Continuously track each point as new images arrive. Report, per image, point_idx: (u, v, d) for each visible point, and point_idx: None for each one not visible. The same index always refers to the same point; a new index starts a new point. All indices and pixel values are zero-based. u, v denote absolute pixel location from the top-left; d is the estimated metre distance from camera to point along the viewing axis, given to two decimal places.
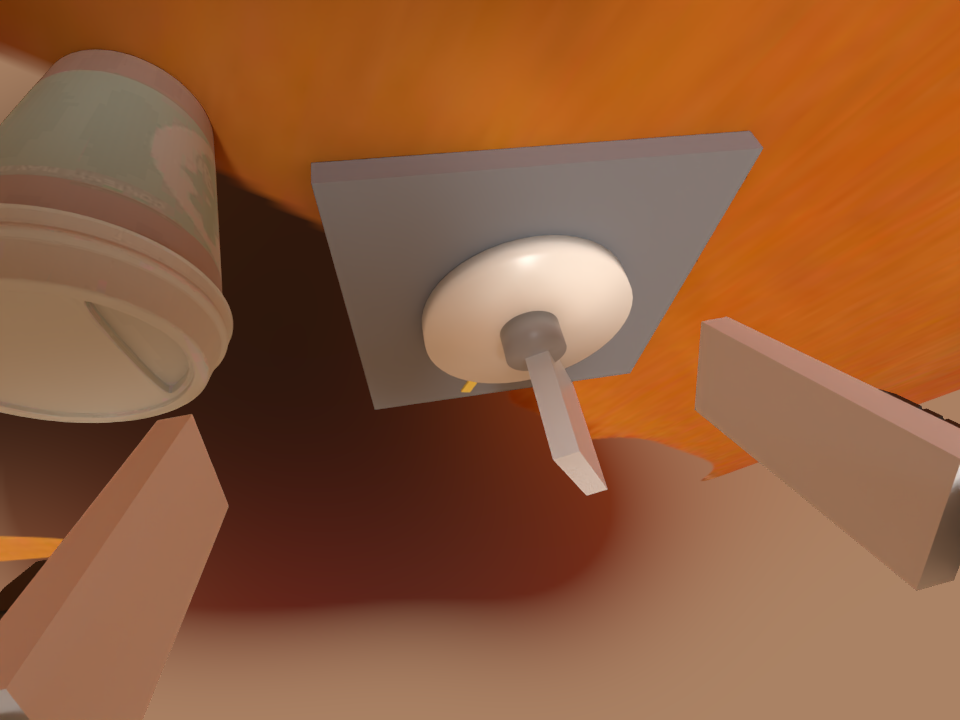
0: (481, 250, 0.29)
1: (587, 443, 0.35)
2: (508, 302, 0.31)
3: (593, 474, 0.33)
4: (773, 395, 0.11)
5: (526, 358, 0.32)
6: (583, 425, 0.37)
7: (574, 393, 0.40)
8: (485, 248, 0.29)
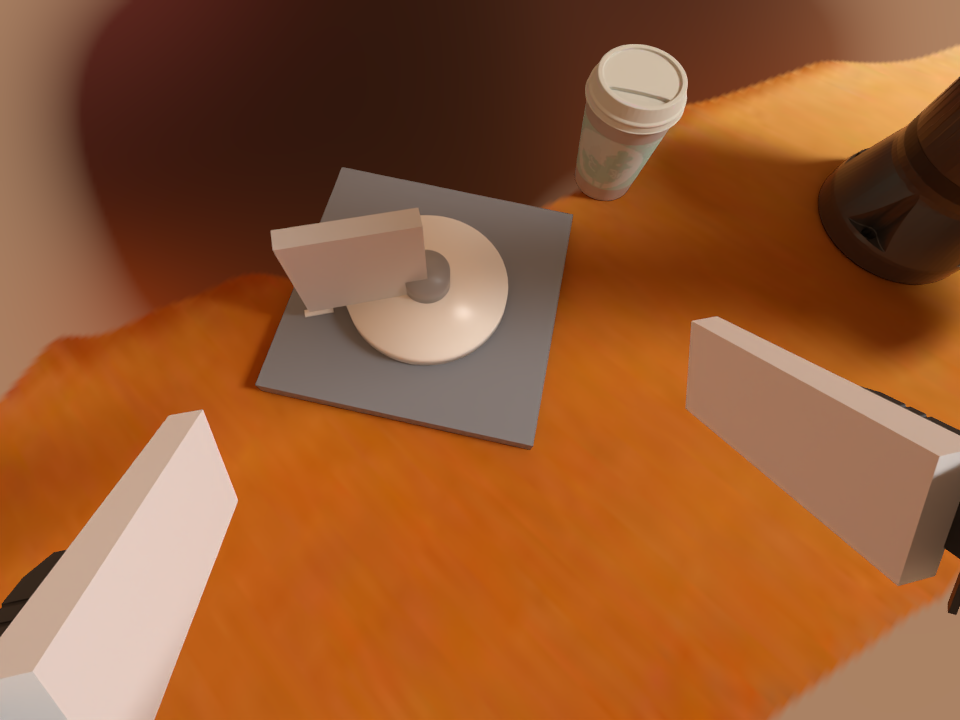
0: None
1: (340, 260, 0.36)
2: (467, 273, 0.43)
3: (345, 236, 0.34)
4: (760, 393, 0.11)
5: None
6: (327, 277, 0.37)
7: (322, 300, 0.40)
8: None
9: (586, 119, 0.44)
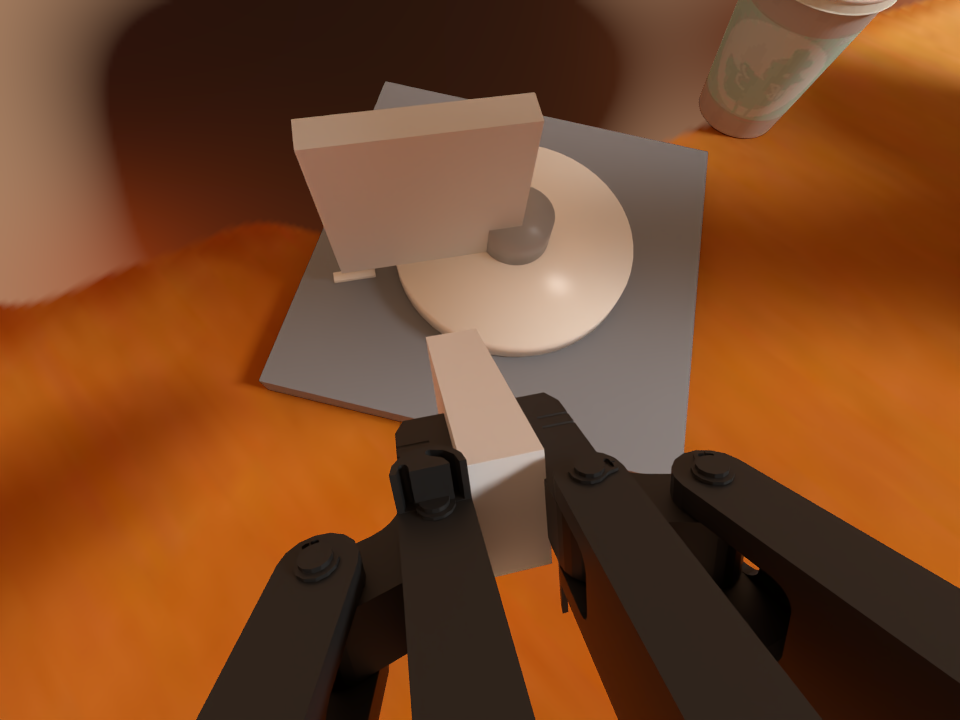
0: None
1: (402, 180, 0.22)
2: (572, 223, 0.30)
3: (417, 133, 0.20)
4: None
5: None
6: (377, 212, 0.24)
7: (363, 254, 0.26)
8: None
9: (747, 4, 0.30)
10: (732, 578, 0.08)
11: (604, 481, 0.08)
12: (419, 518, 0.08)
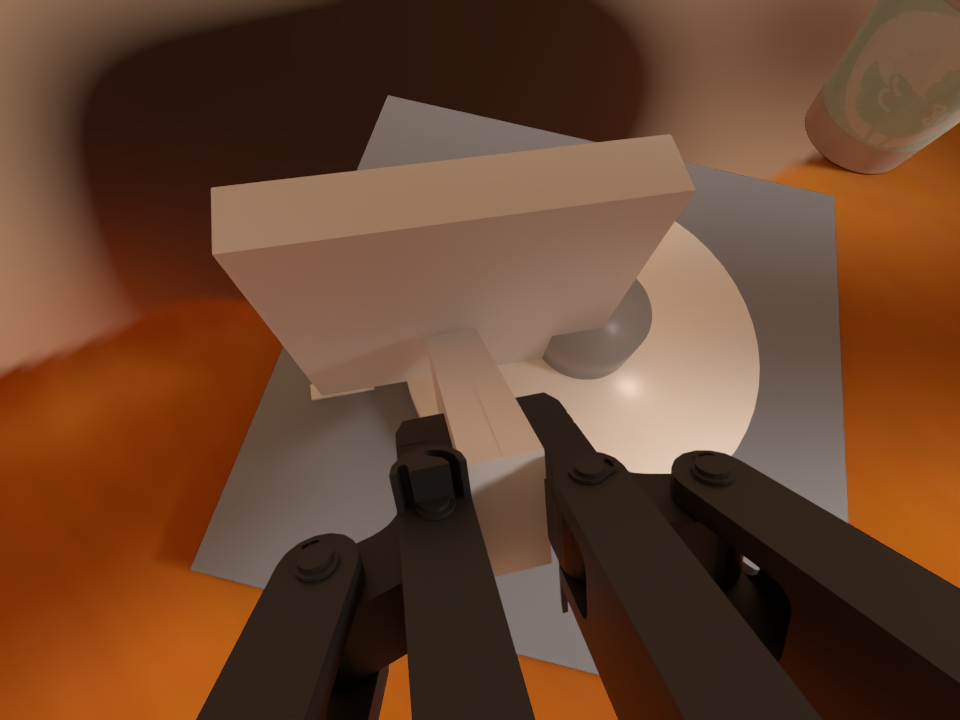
0: None
1: (423, 287, 0.12)
2: (665, 311, 0.20)
3: (457, 215, 0.10)
4: None
5: None
6: (377, 328, 0.14)
7: (355, 374, 0.17)
8: None
9: None
10: (732, 578, 0.08)
11: (604, 481, 0.08)
12: (419, 518, 0.08)
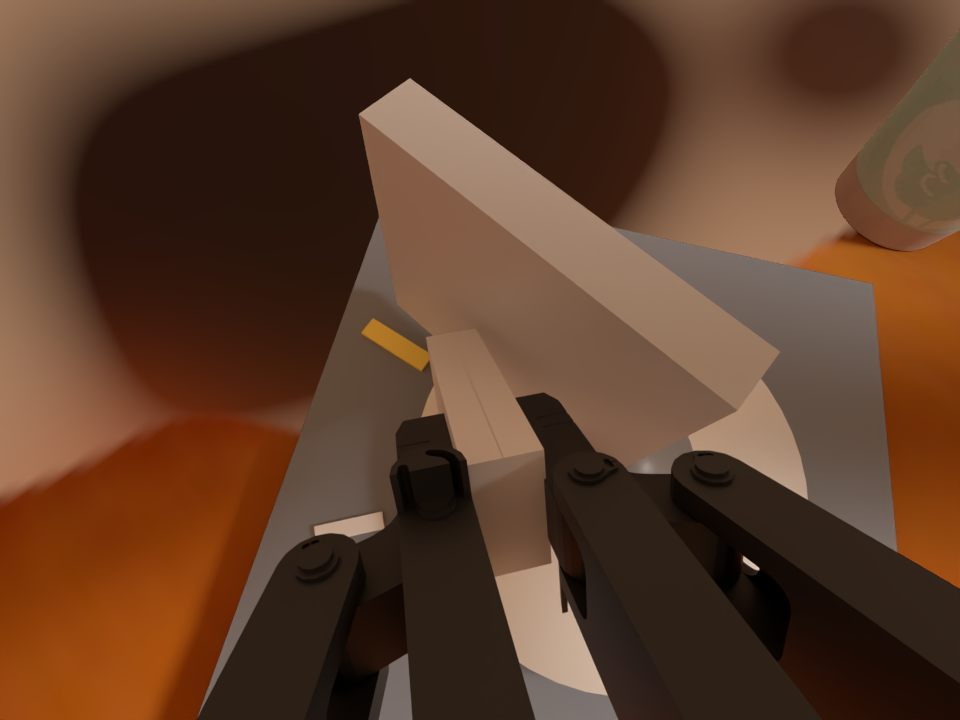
0: None
1: (482, 277, 0.13)
2: None
3: (525, 237, 0.10)
4: None
5: None
6: (444, 282, 0.15)
7: (421, 309, 0.18)
8: None
9: None
10: (732, 578, 0.08)
11: (604, 481, 0.08)
12: (419, 518, 0.08)
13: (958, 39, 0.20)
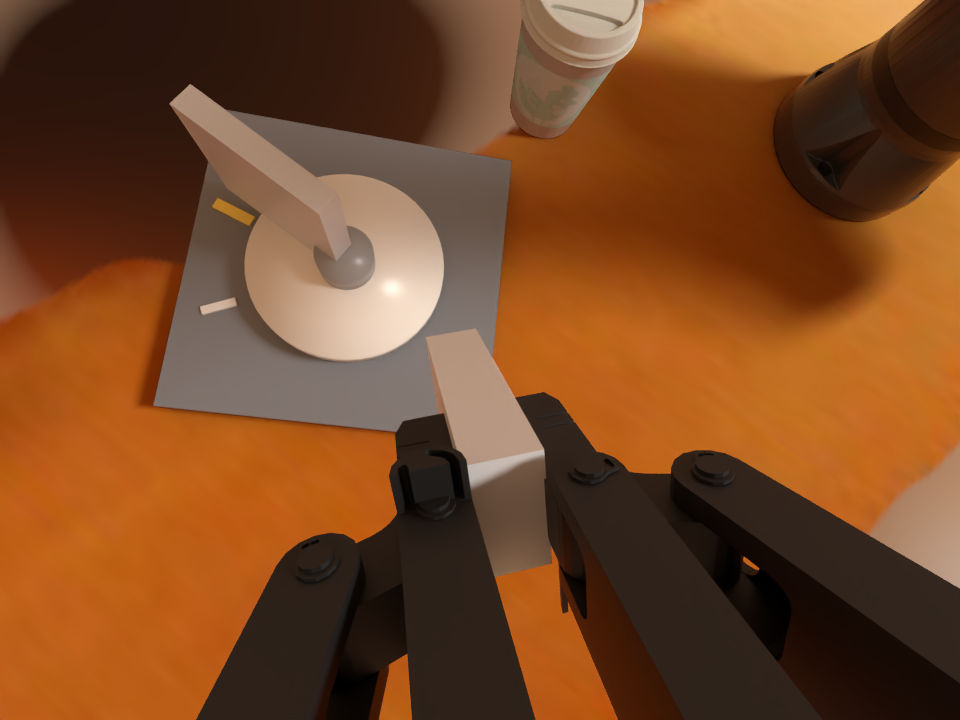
0: None
1: (242, 171, 0.29)
2: (389, 290, 0.36)
3: (243, 154, 0.27)
4: None
5: (350, 245, 0.34)
6: (234, 174, 0.31)
7: (236, 189, 0.34)
8: None
9: (523, 43, 0.36)
10: (732, 578, 0.08)
11: (604, 481, 0.08)
12: (419, 518, 0.08)
13: None
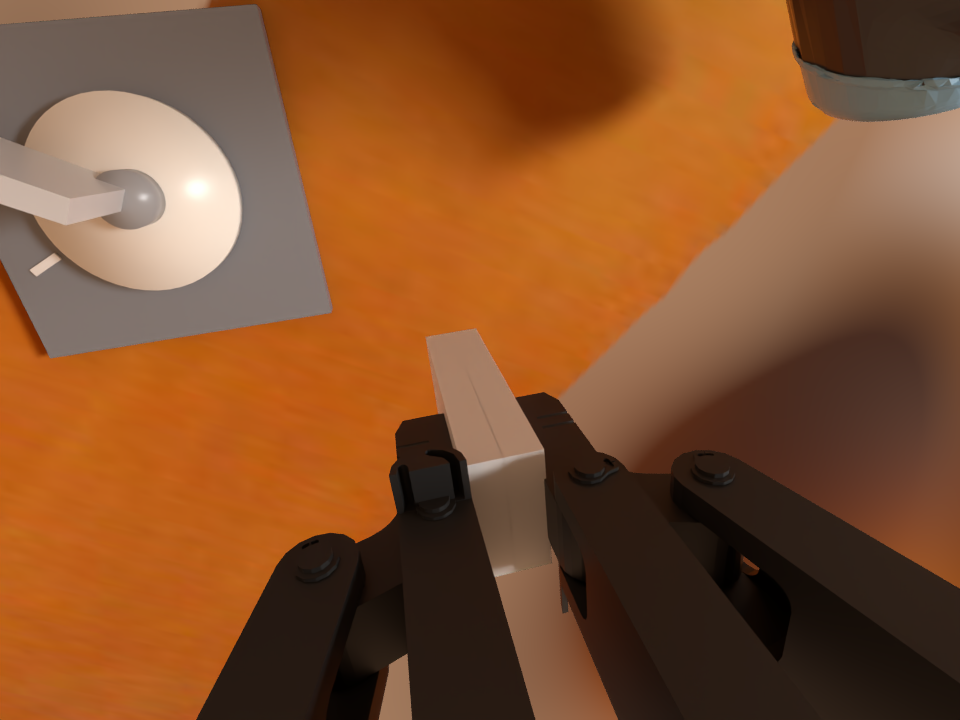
0: None
1: None
2: (188, 213, 0.38)
3: None
4: None
5: (125, 191, 0.35)
6: None
7: None
8: None
9: None
10: (732, 578, 0.08)
11: (604, 481, 0.08)
12: (419, 518, 0.08)
13: None
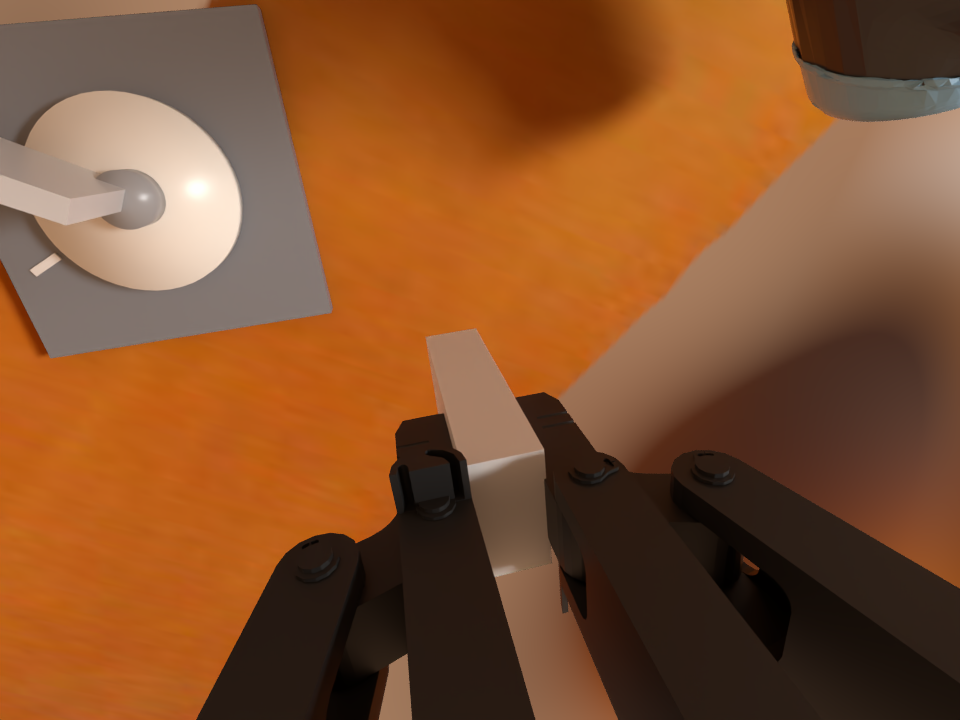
0: None
1: None
2: (188, 214, 0.38)
3: None
4: None
5: (125, 191, 0.35)
6: None
7: None
8: None
9: None
10: (732, 578, 0.08)
11: (604, 481, 0.08)
12: (419, 518, 0.08)
13: None
